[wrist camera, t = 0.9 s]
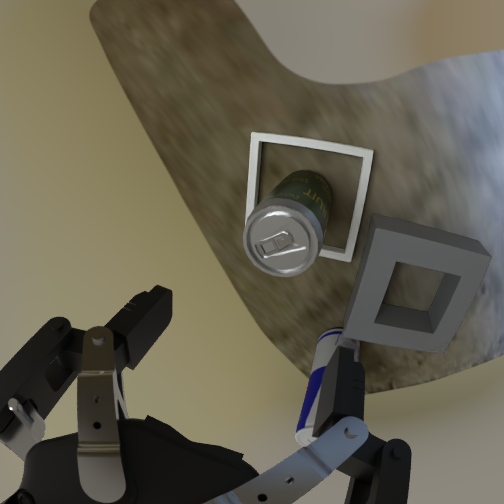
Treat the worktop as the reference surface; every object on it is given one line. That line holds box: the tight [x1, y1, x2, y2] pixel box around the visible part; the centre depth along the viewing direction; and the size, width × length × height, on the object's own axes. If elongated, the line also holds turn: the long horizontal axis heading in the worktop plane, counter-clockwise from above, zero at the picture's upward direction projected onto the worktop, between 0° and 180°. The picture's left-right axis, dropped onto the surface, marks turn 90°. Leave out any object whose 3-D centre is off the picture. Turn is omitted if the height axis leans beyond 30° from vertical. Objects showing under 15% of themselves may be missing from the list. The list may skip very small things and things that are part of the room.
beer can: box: [243, 170, 332, 277], centre depth 23 cm, size 5×5×12 cm
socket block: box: [343, 214, 492, 354], centre depth 27 cm, size 13×13×4 cm
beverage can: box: [295, 329, 360, 447], centre depth 29 cm, size 6×6×15 cm
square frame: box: [245, 132, 373, 262], centre depth 28 cm, size 12×12×1 cm
